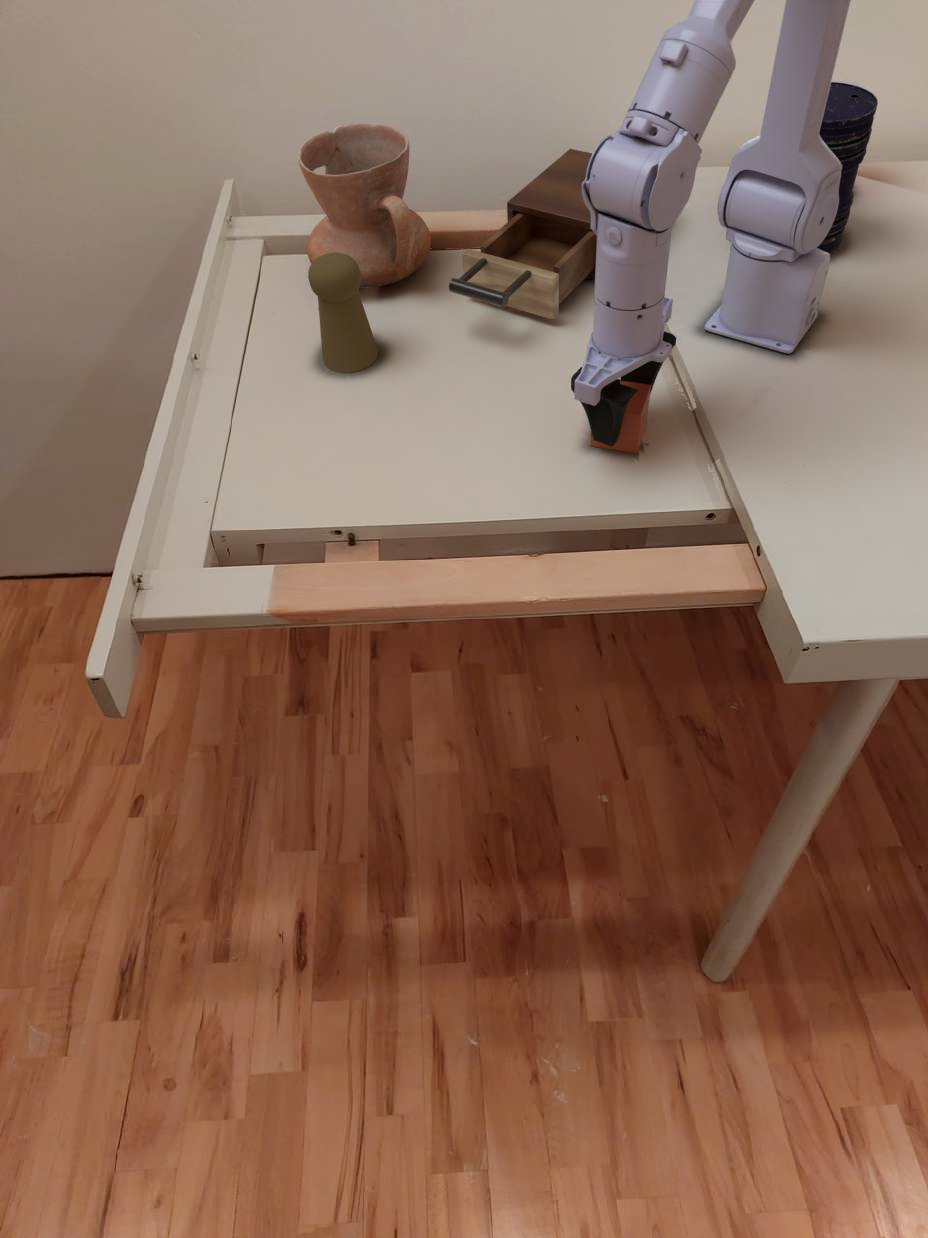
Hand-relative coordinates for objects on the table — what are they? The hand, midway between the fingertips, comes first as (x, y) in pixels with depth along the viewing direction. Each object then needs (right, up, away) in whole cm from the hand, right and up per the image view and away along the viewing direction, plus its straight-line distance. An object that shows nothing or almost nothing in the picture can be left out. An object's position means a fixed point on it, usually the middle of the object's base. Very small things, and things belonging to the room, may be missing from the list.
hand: (619, 423), depth 84 cm
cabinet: (0, +27, +24) cm, 36 cm away
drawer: (-8, +18, +16) cm, 26 cm away
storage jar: (+24, +26, +21) cm, 41 cm away
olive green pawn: (-27, +10, +12) cm, 31 cm away
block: (0, -1, +1) cm, 1 cm away
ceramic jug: (-25, +23, +23) cm, 41 cm away
